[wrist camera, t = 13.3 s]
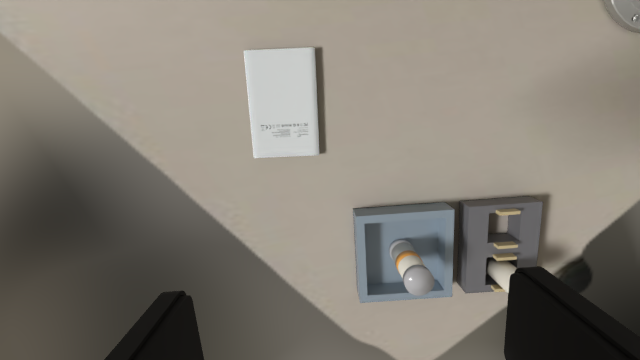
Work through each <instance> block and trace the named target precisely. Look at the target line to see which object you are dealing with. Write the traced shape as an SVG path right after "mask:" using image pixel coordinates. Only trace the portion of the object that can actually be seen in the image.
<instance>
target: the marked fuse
mask: <svg viewBox="0 0 640 360" xmlns="http://www.w3.org/2000/svg"><path fill="white" fill-rule="evenodd" d="M389 254H390V256H391V258H392V260H393V261H394V263H395V265H396V268H397V270H398V272H399V273H400V275H401V277H402V279H403V283H404V285H405V287H406V289H407V291H408V292H409V293H411V294H413V295H416V296H421V295H425V294H427V293H429V292H430V291H431V290H432V288H433V286H434V282H435V281H434V277H433V275H432V273H431V272H430V271H429V269H428V268H427V267H426V266H425V265H424V263H423V261H422V260H421V258H420V257H419V255H418V254H417V253H416V251H415V250H414V247H413V246H412V244H411V243H410V242H409V241H408V240H406V239H396V240H394V241H393V242H392V243H391V244H390V246H389Z"/></svg>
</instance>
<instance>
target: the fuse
mask: <svg viewBox="0 0 640 360" xmlns="http://www.w3.org/2000/svg"><path fill="white" fill-rule="evenodd" d="M516 269H517V268H516V267H515V266H514V265H513V264H511V263H510V262H509V261H508V260H503V261H497V260H496V259H494V258H493V257H487V259H486V273H487V274H489V275H490V276H491V277H492V278H493V279H494V280H495V281H496V282H497V283H498V284H499V285H500V286H501V287H502V288H503V289H504V290H505V291H506V292H507V293H509V280H510V276H511V274H513V273H515V270H516Z"/></svg>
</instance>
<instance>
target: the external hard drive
mask: <svg viewBox="0 0 640 360" xmlns="http://www.w3.org/2000/svg"><path fill="white" fill-rule="evenodd" d="M244 60H245V71H246V81H247V92H248V102H249V113H250V123H251V133H252V144H253V154H254V158H269V157H291V156H315V155H319V130H318V106H317V83H316V60H315V47H305V48H283V49H261V50H244Z"/></svg>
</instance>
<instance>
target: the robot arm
mask: <svg viewBox="0 0 640 360" xmlns="http://www.w3.org/2000/svg"><path fill="white" fill-rule="evenodd" d="M604 3H605V6H606V8H607V10H608V12H609V14H610V15H611V16H612V18H613V19H614V20H615V21H616V22H617V23H618V24H619V25H621V26H622V27H624V28H626V29H628V30H630V31H634V32H638V33H640V0H604ZM504 354H505V358H506V360H640V337H639V336H637V335H636V334H635V333H633V332H632V331H631V330H629V329H628V328H626V327H625V326H624V325H622V324H621V323H619V322H618V321H616V320H615V319H614V318H612V317H611V316H610V315H608V314H607V313H605V312H604V311H602V310H601V309H600V308H598V307H597V306H596V305H594V304H593V303H591V302H590V301H588V300H587V299H586V298H584V297H583V296H582V295H580V294H579V293H577V292H576V291H575V290H573V289H572V288H570V287H569V286H568V285H566V284H565V283H563V282H562V281H561V280H559V279H558V278H556V277H555V276H554V275H552V274H551V273H549V272H548V271H547V270H545V269H544V268H542V267H538V266H537V267H522V268H517V269H516V270H515V273H513V274H511V276H510V280H509V293H508V306H507V320H506V332H505V346H504ZM105 360H204V357H203V352H202V347H201V342H200V337H199V332H198V326H197V321H196V316H195V311H194V306H193V301H192V298H191V296H187V295H186V293H185V292H184V291H172V292H163V293H161V294H160V295H159V296H158V298H157V299H156V300H155V301H154V302H153V303H152V305H151V306H150V307H149V308H148V309H147V310H146V312H145V313H144V314H143V315H142V316H141V317H140V319H139V320H138V321H137V322H136V323H135V324H134V326H133V327H132V328H131V329H130V330H129V332H128V333H127V334H126V335H125V336H124V337H123V339H122V340H121V341H120V342H119V344H117V346H116V347H115V348H114V349H113V350H112V351H111V353H110V354H109V355H108V356H107V357H106V358H105Z"/></svg>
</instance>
